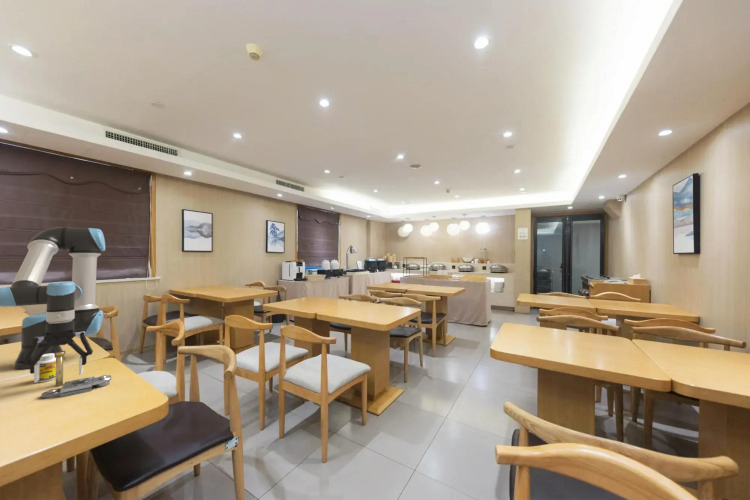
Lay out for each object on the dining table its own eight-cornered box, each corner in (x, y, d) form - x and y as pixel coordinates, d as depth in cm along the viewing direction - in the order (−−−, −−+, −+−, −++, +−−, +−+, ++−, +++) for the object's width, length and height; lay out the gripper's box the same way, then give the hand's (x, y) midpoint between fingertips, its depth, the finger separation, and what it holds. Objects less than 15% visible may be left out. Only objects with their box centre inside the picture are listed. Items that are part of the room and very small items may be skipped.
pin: (54, 384, 112) (55, 351, 113) (65, 382, 114) (66, 350, 114) (52, 387, 110) (53, 353, 110) (63, 385, 112) (64, 352, 112)
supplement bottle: (33, 384, 113) (34, 358, 113) (39, 378, 118) (40, 353, 118) (54, 380, 116) (54, 355, 116) (59, 375, 121) (59, 351, 121)
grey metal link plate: (44, 393, 106) (44, 384, 106) (112, 379, 117) (112, 371, 117) (38, 401, 100) (38, 392, 100) (110, 386, 111) (110, 378, 111)
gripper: (10, 327, 102) (8, 389, 102) (100, 318, 117) (99, 372, 117) (17, 323, 108) (15, 382, 108) (102, 315, 123) (101, 366, 123)
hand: (59, 377), depth 112 cm, fingers open, 11 cm apart
